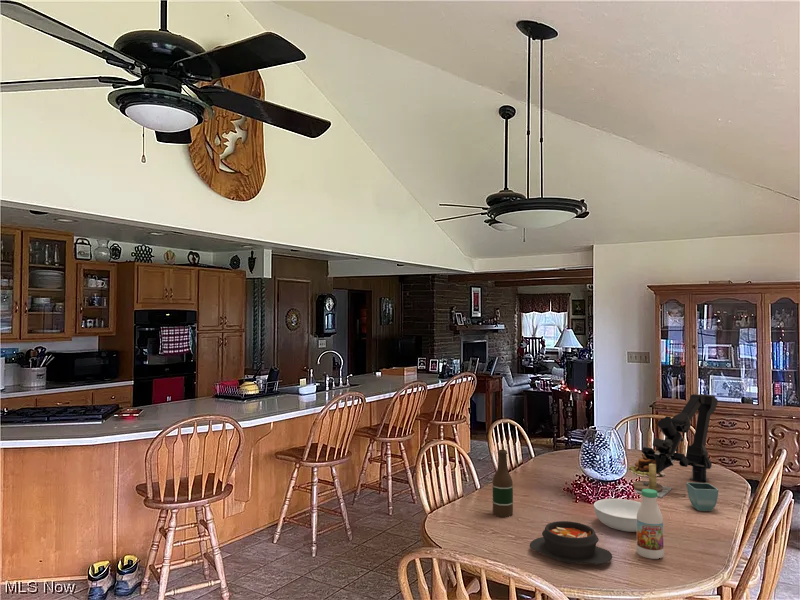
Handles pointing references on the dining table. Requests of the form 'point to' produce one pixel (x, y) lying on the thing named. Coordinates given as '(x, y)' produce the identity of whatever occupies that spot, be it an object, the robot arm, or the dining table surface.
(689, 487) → the flower pot
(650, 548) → the milk bottle
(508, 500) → the beer bottle
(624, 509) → the serving bowl
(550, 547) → the casserole
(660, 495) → the stand
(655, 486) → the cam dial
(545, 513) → the dining table surface
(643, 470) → the bear figurine
